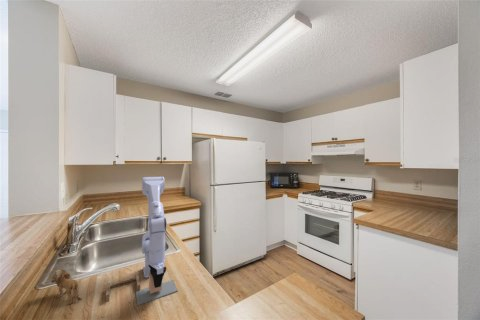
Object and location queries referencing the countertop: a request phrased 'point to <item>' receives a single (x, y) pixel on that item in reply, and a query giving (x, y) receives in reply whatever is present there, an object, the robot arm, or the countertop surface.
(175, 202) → the countertop surface
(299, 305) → the countertop surface
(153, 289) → the terracotta block
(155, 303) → the countertop surface
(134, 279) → the walnut cradle
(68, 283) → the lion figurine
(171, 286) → the slate mat
